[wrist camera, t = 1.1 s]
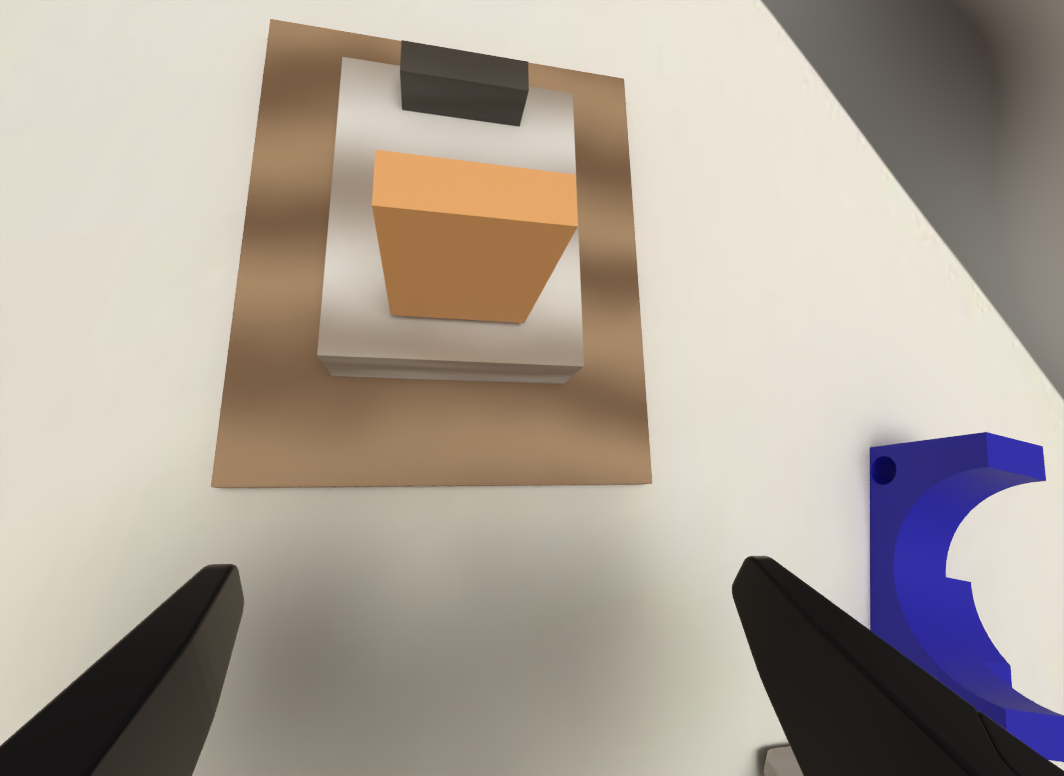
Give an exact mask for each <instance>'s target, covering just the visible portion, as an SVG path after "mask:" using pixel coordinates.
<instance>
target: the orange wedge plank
mask: <svg viewBox="0 0 1064 776" xmlns="http://www.w3.org/2000/svg"><path fill="white" fill-rule="evenodd" d="M372 209H373V215H374V221H375V227H376V233H377V238H378V244H379V250H380V256H381V262H382V268H383V273H384V279H385V285H386V291H387V297H388V303H389V309H390V314H391V315H398V316H415V317H432V318H449V319H465V320H482V321H499V322H516V323H525V321H526V320H527V318H528V316H529V314H530V312H531V311H532V309H533V307H534V305H535V303H536V301H537V300H538V298H539V296H540V294H541V292H542V291H543V289H544V287H545V285H546V283H547V282H548V280H549V278H550V276H551V274H552V273H553V271H554V269H555V267H556V265H557V264H558V262H559V260H560V258H561V256H562V254H563V253H564V251H565V249H566V247H567V245H568V244H569V242H570V240H571V238H572V236H573V235H574V233H575V231H576V229H577V227H578V214H577V190H576V174H567V173H559V172H551V171H543V170H535V169H527V168H519V167H511V166H503V165H495V164H487V163H479V162H471V161H463V160H455V159H447V158H439V157H431V156H423V155H415V154H407V153H399V152H391V151H383V150H375V164H374V180H373V195H372Z"/></svg>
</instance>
